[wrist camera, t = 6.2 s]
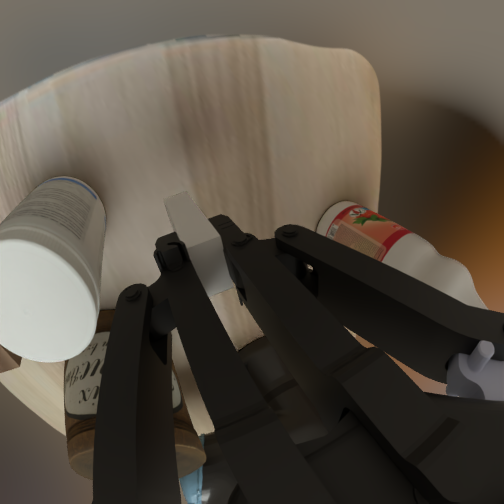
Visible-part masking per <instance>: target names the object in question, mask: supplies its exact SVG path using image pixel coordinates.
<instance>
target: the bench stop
mask: <svg viewBox="0 0 504 504" xmlns="http://www.w3.org/2000/svg"><path fill="white" fill-rule="evenodd" d="M21 359H22V357H21V356H19V355H17V354H15V353H13V352H11V351H9V350H8V349H6V348H5V347H3V346H2V345H1V344H0V373H2V372H5V371H8V370H12V369H15V368H18V367H20V364H21Z"/></svg>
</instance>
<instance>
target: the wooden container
mask: <svg viewBox="0 0 504 504" xmlns="http://www.w3.org/2000/svg"><path fill="white" fill-rule="evenodd" d="M114 313H115V310H102V311H99V315H98V319H97V326H96V330H95V334H94V336H93V339H92V340H91V342H90V344H89V345H88V346H87V347H86V348H85V349H84V350H83V351H82V352H81V353H80V354H78V355H76V356H75V357H73V358H70V359H68V360H65V367H64V408H65V427H66V436H67V445H68V446H67V448H68V457H69V463H70V466H71V468H72V469H73V470H74V471H75V472H76V473H78V474H79V475H81V476H83V477H85V478H88V479H90V480H93V451H94V435H95V423H96V413H97V404H98V396H99V389H100V382H101V376H102V370H103V364H104V359H105V354H106V348H107V343H108V339H109V334H110V330H111V325H112V321H113V317H114ZM172 399H173V420H174V436H175V449H176V460H177V470H178V479H179V478H182V477H184V476H186V475H189V474H191V473H192V472H194V471H196V470H197V469H199V468H200V467H201V466H202V465H203V464H204V463H205V461H206V454H205V451H204V449H203V446H202V443H201V441H200V439H199V437H198V435H197V432H196V431H195V429H194V427H193V424H192V422H191V419H190V416H189V413H188V410H187V407H186V404H185V401H184V397H183V394H182V390H181V387H180V384H179V380H178V377H177V373H176V370H175V367H174V363H173V360H172Z"/></svg>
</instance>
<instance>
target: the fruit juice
mask: <svg viewBox="0 0 504 504" xmlns="http://www.w3.org/2000/svg"><path fill="white" fill-rule="evenodd" d="M316 233H318V234H321V235H323V236H325V237H327V238H330V239H332V240H334V241H336V242H339V243H341V244H343V245H345V246H348V247H350V248H352V249H354V250H357V251H359V252H361V253H363V254H365V255H367V256H370V257H372V258H374V259H376V260H378V261H380V262H382V263H385V264H387V265H389V266H391V267H393V268H395V269H397V270H399V271H401V272H403V273H405V274H407V275H409V276H411V277H414V278H416V279H418V280H420V281H422V282H424V283H426V284H428V285H430V286H432V287H434V288H435V289H437V290H439V291H441V292H443V293H445V294H447V295H449V296H451V297H453V298H455V299H457V300H459V301H460V302H462V303H464V304H466V305H469V306H473V307H478V308H482V309H487V310H489V309H488V308H487V307H486V306H485V304H484V303H483V301H482V300H481V298H480V297H479V295H478V294H477V292H476V290H475V287H474V284H473V280H472V277H471V275H470V273H469V271H468V270H467V268H466V267H465V266H464V265H462V264H461V263H460V262H458V261H456V260H454V259H451V258H447V257H443V256H441V255H440V254H438V253H437V251H436V249H435V248H434V247H433V246H432V245H431V244H430V243H429V242H427V241H426V240H424V239H423V238H421V237H420V236H418V235H416V234H414V233H412V232H411V231H409V230H407V229H405V228H403V227H402V226H400V225H398V224H396V223H394V222H392V221H390V220H389V219H386V218H385V217H383V216H381V215H379V214H377V213H375V212H373V211H371V210H369V209H367V208H365V207H363V206H361V205H359V204H357V203H354V202H351V201H342V202H339V203H336V204H335V205H333V206H332V207H330V208H329V209H328V210H327V211H326V212H325V214H324V215H323V217H322V218H321V220H320V222H319V224H318V227H317V230H316Z"/></svg>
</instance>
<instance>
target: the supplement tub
mask: <svg viewBox="0 0 504 504" xmlns="http://www.w3.org/2000/svg"><path fill="white" fill-rule="evenodd" d="M105 231H106V215H105V210H104V207H103V204H102V202H101V200H100V198H99V197H98V195H97V194H96V192H95V191H94V190H93V189H92V188H91V187H90V186H88V185H87V184H86V183H84V182H83V181H81V180H79V179H76V178H73V177H68V176H60V177H54V178H51V179H48V180H46V181H44V182H43V183H41V184H40V185H39V186H38V187H36V188H35V189H34V190H33V191H32V192H31V193H30V194H29V195H28V196H27V197H26V198H25V199H24V200H23V201H22V202H21V203H20V204H19V205H18V206H17V207H16V208H15V209H14V210H13V211H12V212H11V213H10V214H9V215H8V216H7V217H6V218H5V219H4V220H3V221H2V223H1V224H0V344H1V345H2V346H3V347H5V348H6V349H8V350H9V351H11V352H13V353H15V354H17V355H19V356H21V357H23V358H26V359H29V360H33V361H38V362H60V361H64V360H68V359H70V358H73V357H75V356H76V355H78V354H80V353H81V352H82V351H83V350H84V349H85V348H86V347H87V346H88V345H89V344H90V342H91V340H92V339H93V336H94V334H95V330H96V326H97V319H98V315H99V307H100V285H101V270H102V258H103V248H104V239H105Z"/></svg>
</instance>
